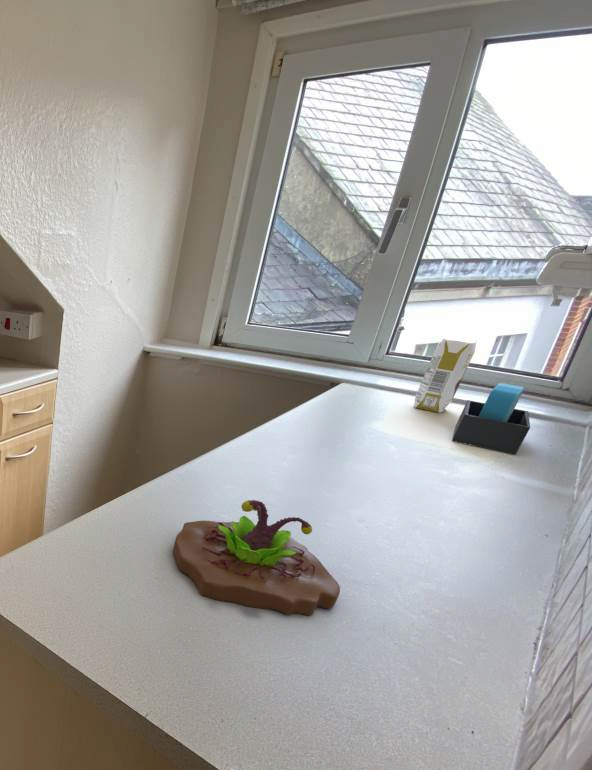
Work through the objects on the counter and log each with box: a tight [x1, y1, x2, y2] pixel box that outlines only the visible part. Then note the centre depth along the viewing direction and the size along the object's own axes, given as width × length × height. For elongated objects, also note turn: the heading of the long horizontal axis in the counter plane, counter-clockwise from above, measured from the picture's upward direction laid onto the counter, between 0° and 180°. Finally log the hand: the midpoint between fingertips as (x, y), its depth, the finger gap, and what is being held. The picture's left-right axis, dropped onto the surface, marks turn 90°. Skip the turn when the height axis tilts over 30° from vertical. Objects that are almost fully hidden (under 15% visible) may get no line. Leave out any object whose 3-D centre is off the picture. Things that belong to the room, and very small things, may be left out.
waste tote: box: [451, 400, 531, 456], centre depth 130 cm, size 11×16×7 cm
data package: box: [479, 382, 525, 422], centre depth 129 cm, size 12×4×12 cm, turn 130°
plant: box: [172, 499, 341, 616], centre depth 76 cm, size 20×20×11 cm
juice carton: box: [413, 335, 477, 414], centre depth 148 cm, size 8×9×19 cm
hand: (581, 308), depth 131 cm, fingers open, 8 cm apart
